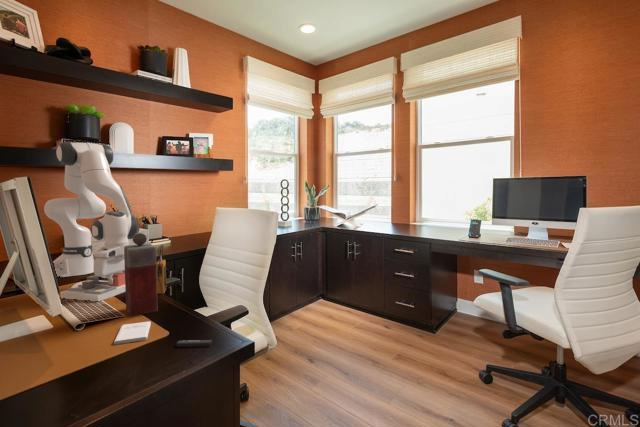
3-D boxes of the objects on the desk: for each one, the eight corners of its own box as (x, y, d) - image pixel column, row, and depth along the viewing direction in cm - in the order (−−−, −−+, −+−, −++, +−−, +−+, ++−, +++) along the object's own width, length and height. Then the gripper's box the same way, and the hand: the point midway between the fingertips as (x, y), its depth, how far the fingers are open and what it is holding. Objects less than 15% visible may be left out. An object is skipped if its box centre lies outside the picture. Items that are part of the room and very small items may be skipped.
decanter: (151, 302, 128) (149, 230, 126) (157, 311, 119) (155, 233, 117) (125, 307, 123) (122, 231, 121) (129, 316, 114) (126, 235, 112)
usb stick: (213, 343, 95) (212, 338, 95) (210, 348, 92) (210, 342, 92) (179, 344, 94) (178, 339, 94) (175, 348, 92) (175, 343, 92)
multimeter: (142, 288, 146) (141, 243, 145) (167, 286, 149) (166, 242, 148) (135, 299, 132) (133, 249, 131) (163, 296, 135) (161, 248, 134)
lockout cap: (108, 286, 141) (108, 274, 141) (118, 282, 146) (117, 272, 145) (118, 286, 140) (118, 275, 140) (127, 283, 145) (127, 272, 144)
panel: (60, 298, 132) (60, 289, 132) (99, 285, 150) (99, 278, 150) (98, 301, 128) (97, 292, 128) (133, 288, 146) (133, 280, 146)
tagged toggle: (82, 290, 134) (82, 281, 134) (89, 288, 137) (88, 279, 137) (89, 291, 133) (88, 282, 133) (95, 288, 136) (95, 280, 136)
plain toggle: (86, 285, 142) (86, 277, 141) (92, 283, 144) (92, 275, 144) (92, 285, 141) (92, 277, 141) (99, 283, 144) (98, 275, 144)
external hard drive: (114, 346, 93) (121, 329, 105) (146, 341, 96) (151, 325, 108) (113, 341, 93) (121, 324, 105) (146, 336, 96) (150, 320, 108)
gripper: (129, 245, 153) (130, 275, 154) (89, 253, 133) (91, 287, 134) (141, 246, 151) (142, 276, 152) (103, 254, 131) (104, 289, 132)
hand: (118, 281), depth 143 cm, fingers closed on lockout cap, 5 cm apart
